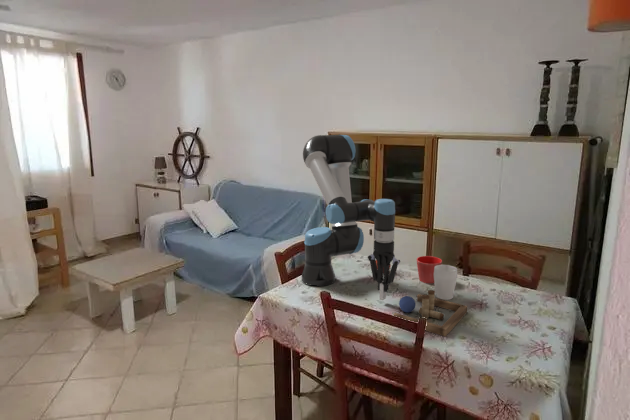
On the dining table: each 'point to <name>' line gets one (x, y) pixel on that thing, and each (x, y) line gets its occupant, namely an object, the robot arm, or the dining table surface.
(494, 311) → the dining table surface
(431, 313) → the pin front
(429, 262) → the flower pot
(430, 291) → the pin
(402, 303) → the ball
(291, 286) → the dining table surface
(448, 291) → the cup
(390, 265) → the pomegranate
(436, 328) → the tray
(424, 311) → the pin
